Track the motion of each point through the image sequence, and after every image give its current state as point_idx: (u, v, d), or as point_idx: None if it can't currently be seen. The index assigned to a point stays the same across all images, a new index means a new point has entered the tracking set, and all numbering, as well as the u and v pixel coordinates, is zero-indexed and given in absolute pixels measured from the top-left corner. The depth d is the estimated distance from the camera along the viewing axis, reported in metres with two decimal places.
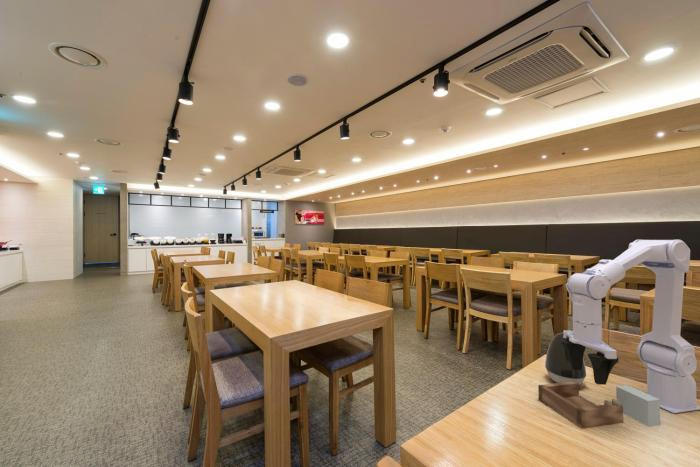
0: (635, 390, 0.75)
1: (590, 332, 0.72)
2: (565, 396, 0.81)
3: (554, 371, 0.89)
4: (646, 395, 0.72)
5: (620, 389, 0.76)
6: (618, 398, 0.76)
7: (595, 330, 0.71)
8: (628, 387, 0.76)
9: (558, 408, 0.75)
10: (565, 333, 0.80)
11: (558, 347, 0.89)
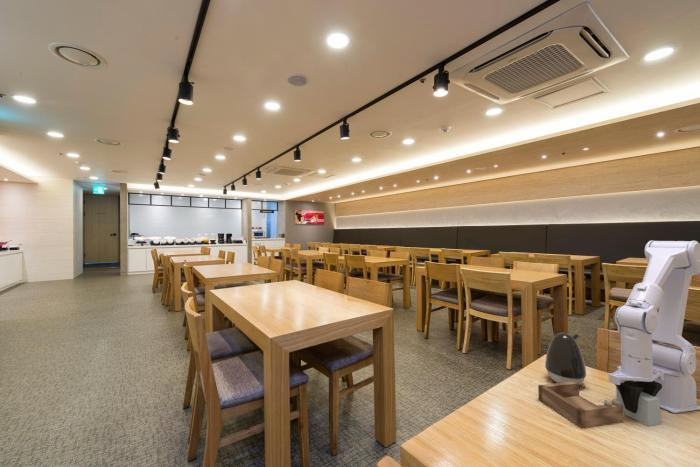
0: None
1: (622, 361, 0.74)
2: (565, 396, 0.81)
3: (554, 371, 0.89)
4: (646, 395, 0.72)
5: None
6: (618, 398, 0.76)
7: (626, 361, 0.73)
8: None
9: (558, 408, 0.75)
10: None
11: (558, 347, 0.89)
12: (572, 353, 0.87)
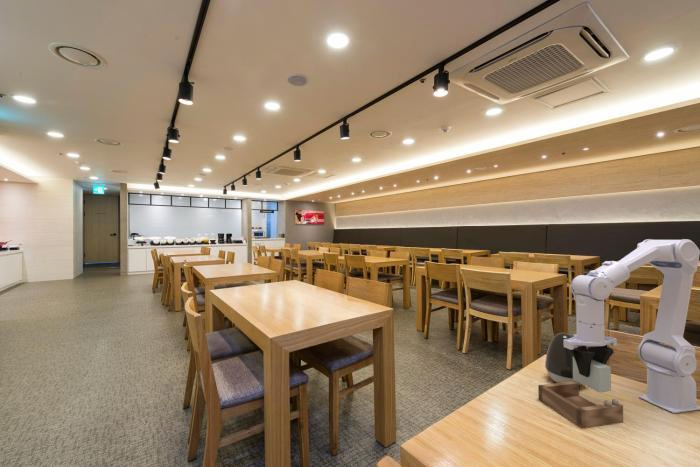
0: None
1: (577, 328, 0.77)
2: (565, 396, 0.81)
3: (554, 371, 0.89)
4: (599, 363, 0.75)
5: None
6: (574, 368, 0.79)
7: (580, 327, 0.76)
8: None
9: (558, 408, 0.75)
10: None
11: (558, 347, 0.89)
12: None
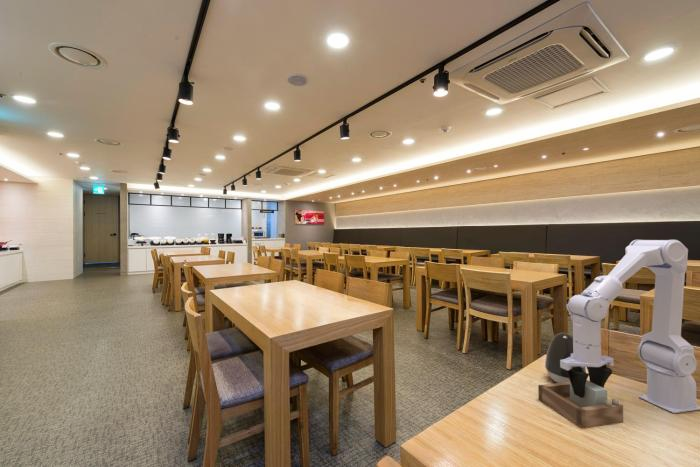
0: (586, 381, 0.78)
1: (574, 348, 0.78)
2: (565, 396, 0.81)
3: (554, 371, 0.89)
4: (595, 386, 0.75)
5: None
6: (571, 389, 0.79)
7: (577, 347, 0.77)
8: None
9: (558, 408, 0.75)
10: None
11: (558, 347, 0.89)
12: None
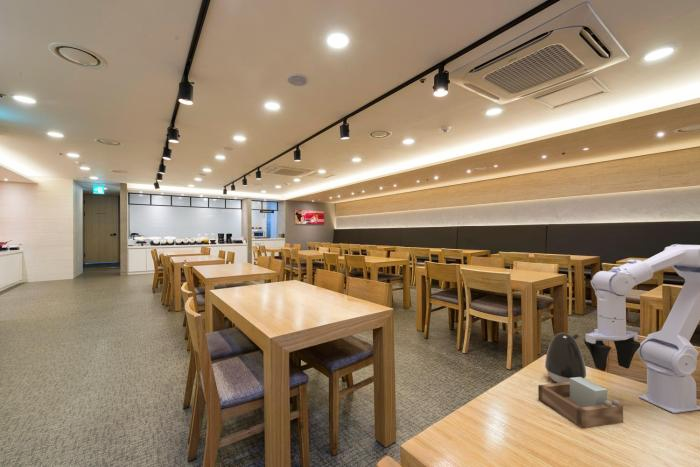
0: (586, 381, 0.78)
1: (598, 323, 0.79)
2: (565, 396, 0.81)
3: (554, 371, 0.89)
4: (595, 386, 0.75)
5: (572, 381, 0.79)
6: (571, 389, 0.79)
7: (602, 322, 0.78)
8: (581, 378, 0.79)
9: (558, 408, 0.75)
10: None
11: (558, 347, 0.89)
12: (572, 353, 0.87)
